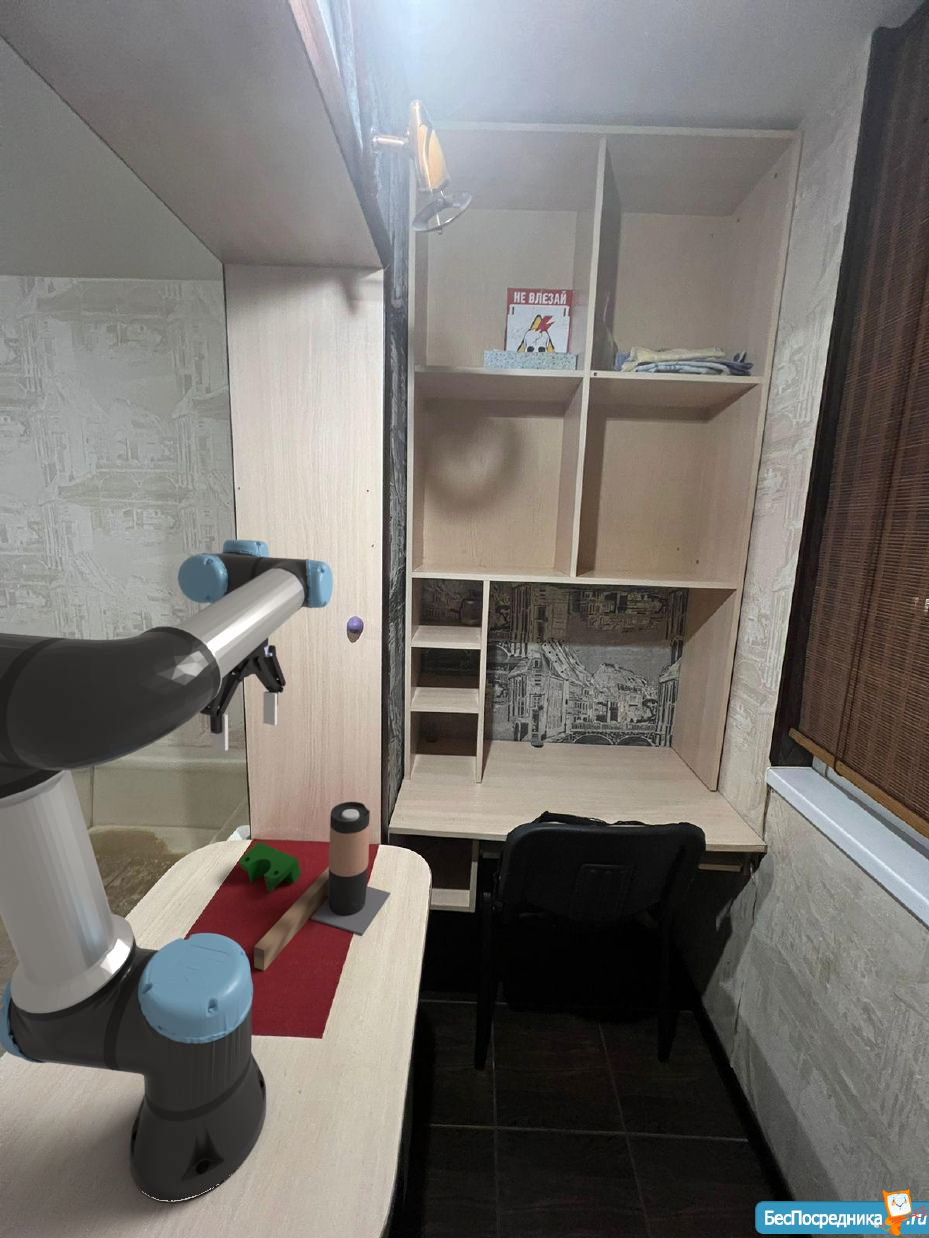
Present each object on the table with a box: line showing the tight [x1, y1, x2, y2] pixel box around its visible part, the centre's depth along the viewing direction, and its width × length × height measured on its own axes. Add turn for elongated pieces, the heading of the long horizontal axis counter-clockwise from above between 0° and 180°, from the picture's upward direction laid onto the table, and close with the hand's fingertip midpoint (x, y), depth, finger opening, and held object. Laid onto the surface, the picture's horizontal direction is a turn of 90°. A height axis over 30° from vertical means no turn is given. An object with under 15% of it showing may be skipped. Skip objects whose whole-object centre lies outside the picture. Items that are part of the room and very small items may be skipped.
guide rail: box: [253, 866, 329, 972], centre depth 100 cm, size 25×2×4 cm, turn 163°
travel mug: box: [328, 801, 371, 916], centre depth 103 cm, size 8×8×20 cm
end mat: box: [310, 885, 391, 936], centre depth 104 cm, size 12×11×1 cm
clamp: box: [239, 841, 302, 893], centre depth 110 cm, size 12×6×9 cm, turn 57°
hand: (246, 735), depth 99 cm, fingers open, 13 cm apart
